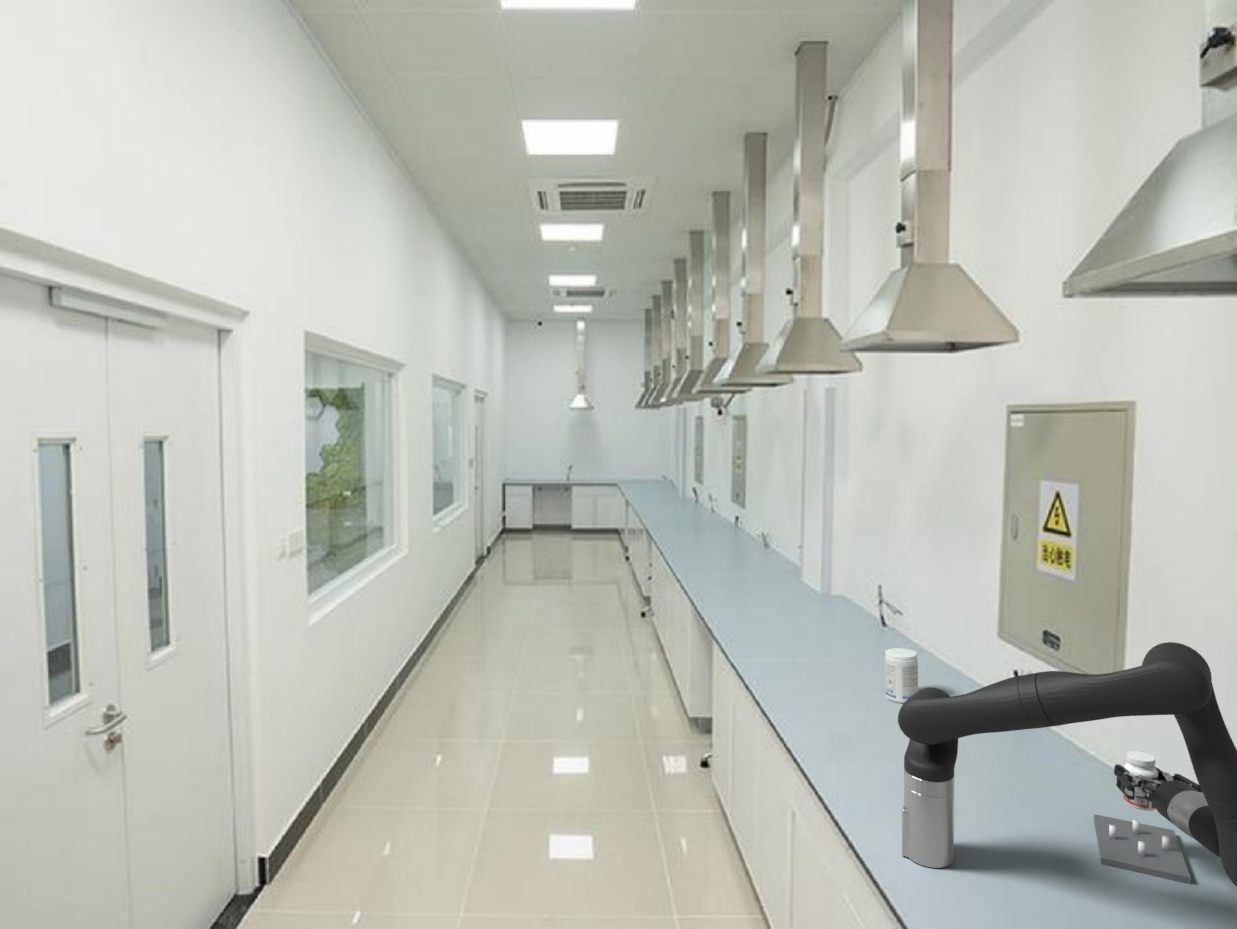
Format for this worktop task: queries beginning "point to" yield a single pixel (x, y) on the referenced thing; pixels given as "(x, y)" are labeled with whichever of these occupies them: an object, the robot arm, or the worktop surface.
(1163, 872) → the grey pegged board
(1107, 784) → the worktop surface
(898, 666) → the supplement tub
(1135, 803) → the pill bottle
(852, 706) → the worktop surface
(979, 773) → the worktop surface
